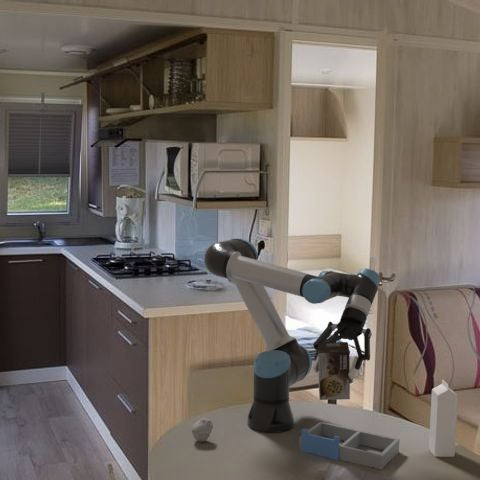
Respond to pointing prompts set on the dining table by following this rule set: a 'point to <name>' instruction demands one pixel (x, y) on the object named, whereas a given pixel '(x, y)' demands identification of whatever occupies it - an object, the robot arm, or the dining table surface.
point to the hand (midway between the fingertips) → (332, 373)
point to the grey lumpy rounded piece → (202, 429)
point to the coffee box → (334, 370)
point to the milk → (443, 421)
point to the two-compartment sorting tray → (348, 444)
